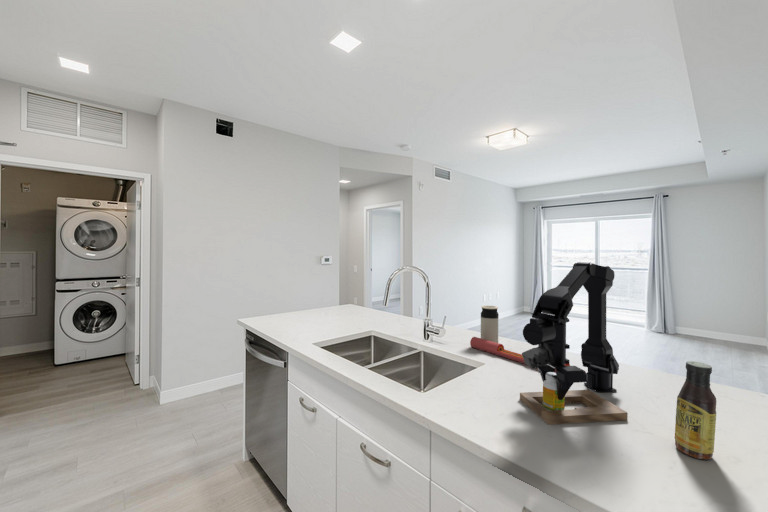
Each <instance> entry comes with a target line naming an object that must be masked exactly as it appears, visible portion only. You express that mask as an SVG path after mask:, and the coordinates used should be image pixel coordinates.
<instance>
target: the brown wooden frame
mask: <svg viewBox="0 0 768 512" xmlns="http://www.w3.org/2000/svg"><path fill="white" fill-rule="evenodd" d="M519 400H520V401H521V402H522V403H523V404H525V406H527V407H528V408H529V409H530V410H532V411H533V413H534V414H536V415H537V416H538V417H539V418H541V420H542V421H544V422H545V423H546V424H547V425H562V424H563V425H565V424H567V425H568V424H581V423H582V424H583V423H586V424H587V423H599V422H600V423H602V422H615V421H616V422H617V421H618V422H620V421H622V422H623V421H628V415H629V414H628V412H627V411H626V410H624V409H622V408H620V407H619V406H617V405H615V404H614V403H612V402H610V401H608V400H606V399H605V398H603V397H602V396H600V395H598V394H597V393H595V392H593V391H591V390H589V389H578V390H577V389H574V390H570V389H569V390H568V392H567V393H566V395H565V405H568V404H569V405H570V404H583V405H584V406H581V407H579V406H578V407H576V406H575V407H574V409H573V408H571V409H564V410H551V411H549V410H547V409H546V408H545V407H544V406H543V391H531V392H530V391H529V392H525V391H524V392H519Z"/></svg>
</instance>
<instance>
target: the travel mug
mask: <svg viewBox="0 0 768 512" xmlns="http://www.w3.org/2000/svg"><path fill="white" fill-rule="evenodd" d="M498 308H499V307H498V306H496V305H481V312H480V338H481V339H485V340H488V341H492V342H495V343H499V313H498Z"/></svg>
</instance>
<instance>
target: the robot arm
mask: <svg viewBox="0 0 768 512" xmlns="http://www.w3.org/2000/svg"><path fill="white" fill-rule="evenodd" d="M614 279H615V271H614V270H613V269H611V267H610V266H608V265H599V264H595V263H592V262H589V261H588V262H585V261H582V262H581V261H578V262H577V261H576V262H575V263H574V264H573V265H572V268H571V269H570V271H569V272H568V273H567V274H566V276H565V277H564V278H563V279H562V280H561V281H560V283H559V284H558V285H556V286H555V287H553V288H549V289H547V290H546V291H545V292H544V293H542V294H541V295H540V296H539V299H538V300H537V303H536V305H535V307H534V310H533V311H532V312H533V313H532V315H531V317H530V318H529V323H526V324H525V325H524V327H523V329H522V336H523V338H524V340H525V341H526V343H527V344H529V345H531V346H537V347H533V348H530V349H528V350H525V351H523V352H521V354H522V356H523V359H524V362H525V364H524V365H526V366H528V367H529V368H530V369H533V370H534V369H535V370H536V369H538V371H539V374H540V377H541V380H542V383H543V382H544V381H545V380H547V379H546V373H547V372H554V373H555V369H556V375H551V376H552V377H553V378H554V379H555V380H556V385H557V395H558V399H559V400H563V398H564V397H565V395H566V393H567V392H568V391H570V389H571V387H572V385H574V383H583V385H585V386H586V387H588V388H590V389H592V390H593V391H595V392H597V393H612V392H613V393H614V392H617V391H618V390H617V389H616V388H614V387H613V386H614V385H613V383H614V382H613V381H614V378H613V377H614V375H618V373H619V370H620V365H619V363H618V361H617V359H616V357H615V355H614V351H613V347H612V345H611V344H610V341H608V339H607V293H608V292H609V291H610V289H612V287H613V284H614ZM582 287H583V288H584V289H585V291H586V292H587V295H588V296H587V300H588V302H587V304H588V305H587V306H588V307H587V308H588V309H587V310H588V311H587V313H588V314H587V318H588V320H587V323H588V324H587V326H588V329H587V334H588V335H587V339H586V340H585V342H583V343H581V345H580V346H581V347H580V348H581V352H580V359H581V363H582V367H585V368H587V372H586V371H585V370H584V369H582V368H580V367H578V366H577V365H570V366H564V365H565V364H570V359H568V358H566V357H567V350H570V346H571V345H570V344H568V343H567V323H569V322H570V319H569V318H568V316H569V314H570V313H571V312H572V308H573V307H574V302H573V299H574V297H575V295H577V293H578V292H579V291H580V289H581V288H582Z"/></svg>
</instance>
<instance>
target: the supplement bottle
mask: <svg viewBox="0 0 768 512" xmlns="http://www.w3.org/2000/svg"><path fill="white" fill-rule="evenodd" d="M551 375H556V373H554V372H547V373H546V379H547V380H545V381H544V382H543V381H542V392H543V403H542V406H544V407H545V408H546V409H547V410H549V411H551V410H566V408H565V405H566V404H565V397H564V398H563V400H559V399H558V395H557V385H556V380H555V379H554V378H553V377H552V376H551Z"/></svg>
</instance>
